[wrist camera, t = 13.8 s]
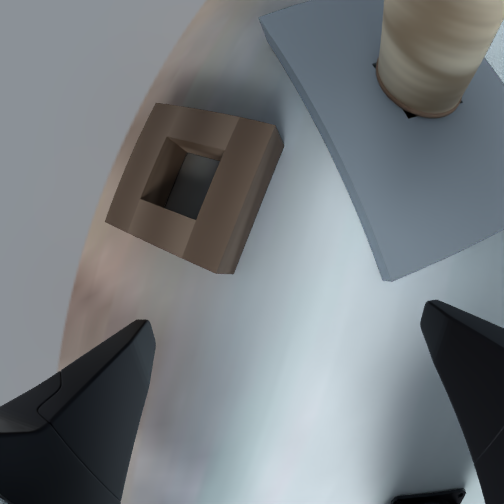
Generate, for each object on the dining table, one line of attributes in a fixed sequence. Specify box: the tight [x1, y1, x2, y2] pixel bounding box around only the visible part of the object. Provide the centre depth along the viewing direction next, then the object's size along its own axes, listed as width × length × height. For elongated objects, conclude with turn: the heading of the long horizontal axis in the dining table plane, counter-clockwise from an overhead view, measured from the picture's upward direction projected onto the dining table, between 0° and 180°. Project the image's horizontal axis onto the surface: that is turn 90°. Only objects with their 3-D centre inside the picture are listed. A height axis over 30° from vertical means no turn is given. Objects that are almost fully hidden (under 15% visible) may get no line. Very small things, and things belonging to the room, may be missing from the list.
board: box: [258, 0, 504, 282], centre depth 16 cm, size 20×14×3 cm
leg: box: [376, 0, 504, 119], centre depth 11 cm, size 6×6×13 cm
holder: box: [105, 103, 284, 274], centre depth 19 cm, size 9×9×3 cm
